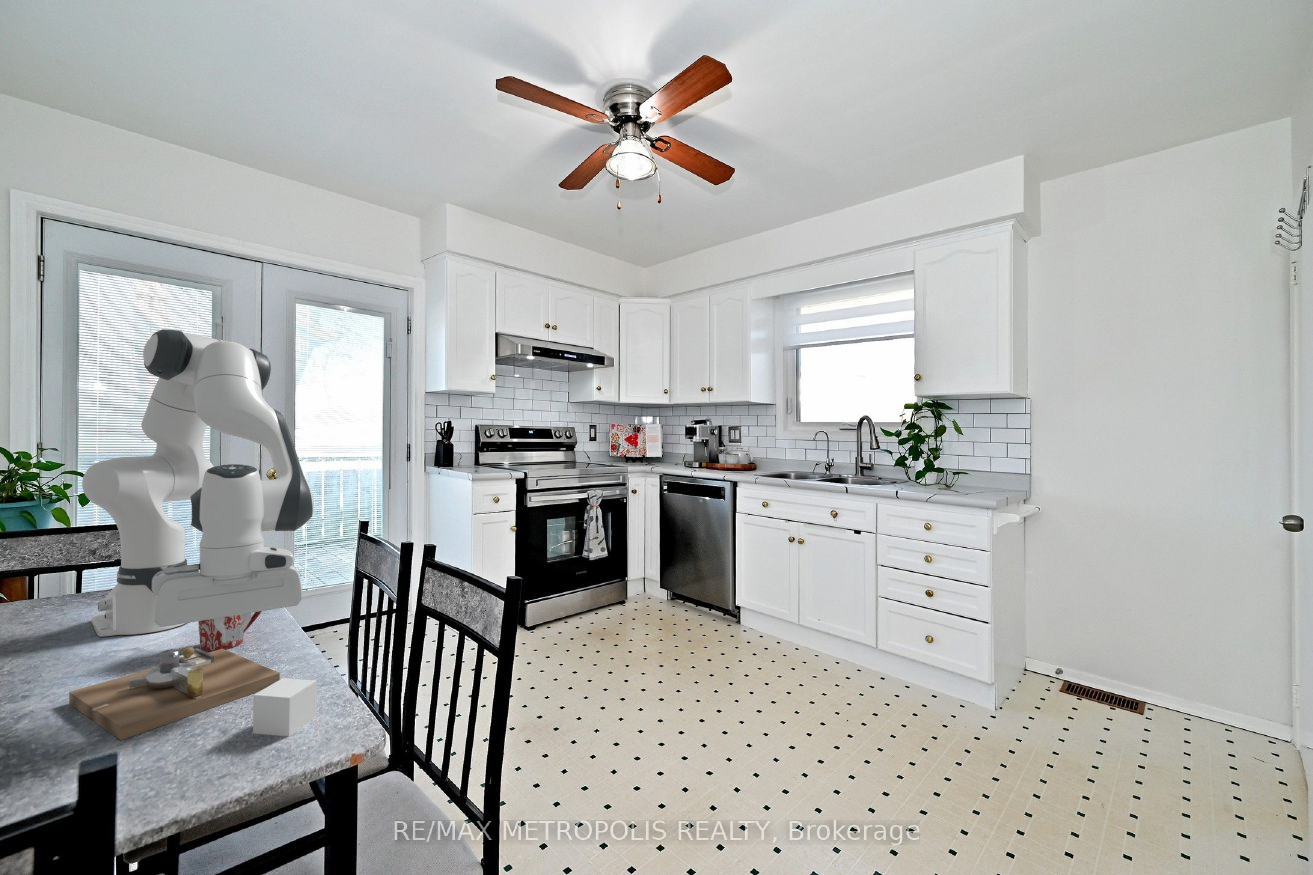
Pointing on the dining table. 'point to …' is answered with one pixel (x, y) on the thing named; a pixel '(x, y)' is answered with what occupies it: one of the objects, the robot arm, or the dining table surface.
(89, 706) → the stand
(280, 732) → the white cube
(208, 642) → the mug
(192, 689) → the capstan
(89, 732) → the dining table surface
